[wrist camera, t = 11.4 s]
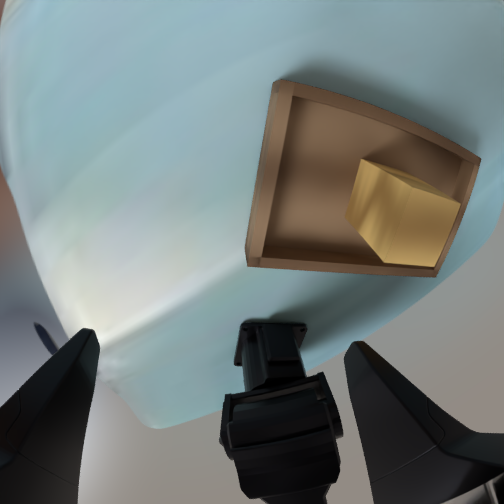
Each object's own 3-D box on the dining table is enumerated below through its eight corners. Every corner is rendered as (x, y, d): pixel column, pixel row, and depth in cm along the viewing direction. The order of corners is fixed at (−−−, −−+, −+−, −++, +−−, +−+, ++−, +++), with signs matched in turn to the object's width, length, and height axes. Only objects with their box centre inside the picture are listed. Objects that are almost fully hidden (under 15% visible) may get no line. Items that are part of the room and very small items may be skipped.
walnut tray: (422, 263, 24) (435, 277, 21) (244, 248, 20) (247, 266, 18) (463, 151, 18) (481, 158, 15) (273, 82, 14) (280, 79, 12)
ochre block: (391, 225, 20) (434, 266, 15) (344, 217, 19) (384, 262, 14) (408, 173, 18) (460, 203, 12) (361, 158, 17) (412, 187, 12)
